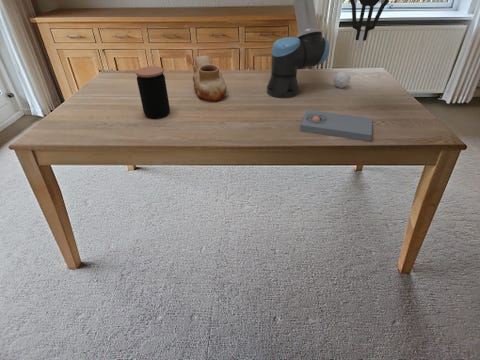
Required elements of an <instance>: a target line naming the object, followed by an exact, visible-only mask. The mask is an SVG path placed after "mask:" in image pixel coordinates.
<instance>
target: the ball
mask: <svg viewBox="0 0 480 360" xmlns="http://www.w3.org/2000/svg"><path fill="white" fill-rule="evenodd" d="M312 120H313V121H320V118H319V117H318V116H314V117H313V118H312Z"/></svg>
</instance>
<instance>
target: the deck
mask: <svg viewBox="0 0 480 360" xmlns="http://www.w3.org/2000/svg"><path fill="white" fill-rule="evenodd" d="M314 116H318V117H319V118H320V121H313V120H312V118H313V117H314ZM372 129H373V118H372V117H371V118H370V117H365V116H357V115H350V114H341V113H335V112H334V113H333V112H325V111H320V110H311V109H306V111H305V113H304V115H303V118H302V121H301V123H300V126H299V132H304V133H312V134H319V135H324V136H331V137H338V138H346V139H351V140H356V141H357V140H359V141H363V140H367V141H366V142H371V140H372V134H373V132H372V131H373V130H372Z"/></svg>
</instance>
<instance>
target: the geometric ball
mask: <svg viewBox="0 0 480 360" xmlns="http://www.w3.org/2000/svg"><path fill="white" fill-rule="evenodd" d="M350 81H351V75H350V74H349V73H348V72H347V71H344V70H341V71H338V72H337V73H335V75H334V76H333V84H334V86H336V87H337V88H340V89H344V88H346V87H347V86H348V85H349V84H350Z"/></svg>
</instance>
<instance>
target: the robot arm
mask: <svg viewBox="0 0 480 360" xmlns="http://www.w3.org/2000/svg"><path fill="white" fill-rule="evenodd" d="M292 1H293V5H294V12H295V13H294V14H295V19H296V25H297V32H298V33H297V36H290V37H286V36H285V37H282V38H279V39H277V40H275V41H274V43H273V44H272V50H271V70H270V71H271V72H270V78H269V81H268V83H267V85H266V93H267V95H269V96H271V97H274V98H279V99H287V98H294V97H296V96H297V95H299V91H300V87H299V83H298V76H297V75H298V74H297V73H298V69H301V68H302V69H304V68H307V67H308V68H309V67H317V66H319V65H322V64H324V62H326V61H327V60H328V59H327V58H328V57H329V54H330V42H329V40H328V39H327V38H326V37H324V36H323V33H322V31H321V30H320V29H319V28H318V22H317V15H316V8H315V1H314V0H292ZM358 1H359V3H360V5H361V11H360V14H359V20H358V24H357V4H356V3H357V2H358ZM349 2H350V5H351V13H352V14H351V18H352V19H351V20H352V21H351V22H352V29H353V30H356V34H355V40H356V41H357V46H356V51H357V52H358V51H360V52H361V50H362V45H363V42H364V41H365V42H366V41H367V40H368V39H367V38H368V35H369V32H370V31H373V30H374V29H375V28H376V26H377V24H378V21H379V19H380V17H381V15H382V12H383V11H384V9H385V7H386V6H387V5H388V4H389V2H390V0H349ZM379 2H380V6H379V8H378V10H377V12H376V14H375V17H374V19H373V21H372V23H371V20H372V15H373V12H374V8H375V6H376V5H377V4H378V3H379ZM367 7H369V8H368V9H369V10H368V13H367V19H366V23H365V27H364V29H362V27H363V26H362V25H363V21H364V16H365V11H366V8H367Z"/></svg>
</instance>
